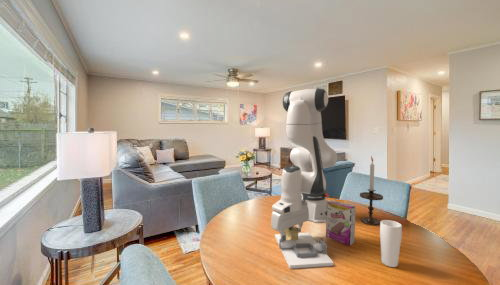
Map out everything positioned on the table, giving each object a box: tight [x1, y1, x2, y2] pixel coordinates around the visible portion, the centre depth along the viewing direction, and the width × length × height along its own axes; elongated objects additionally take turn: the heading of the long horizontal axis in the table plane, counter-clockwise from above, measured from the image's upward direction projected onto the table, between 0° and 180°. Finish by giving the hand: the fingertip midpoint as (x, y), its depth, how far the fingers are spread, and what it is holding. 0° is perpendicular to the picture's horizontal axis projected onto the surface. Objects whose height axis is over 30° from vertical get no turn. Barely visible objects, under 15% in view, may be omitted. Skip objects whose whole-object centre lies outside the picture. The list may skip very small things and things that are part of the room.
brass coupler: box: [283, 225, 299, 241], centre depth 100 cm, size 4×4×6 cm
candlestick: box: [359, 155, 384, 227], centre depth 121 cm, size 11×11×35 cm
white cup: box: [379, 219, 403, 268], centre depth 84 cm, size 7×7×15 cm
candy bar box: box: [325, 199, 357, 247], centre depth 101 cm, size 11×5×16 cm, turn 44°
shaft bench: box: [274, 232, 334, 269], centre depth 93 cm, size 17×24×5 cm
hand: (290, 235), depth 100 cm, fingers open, 8 cm apart
